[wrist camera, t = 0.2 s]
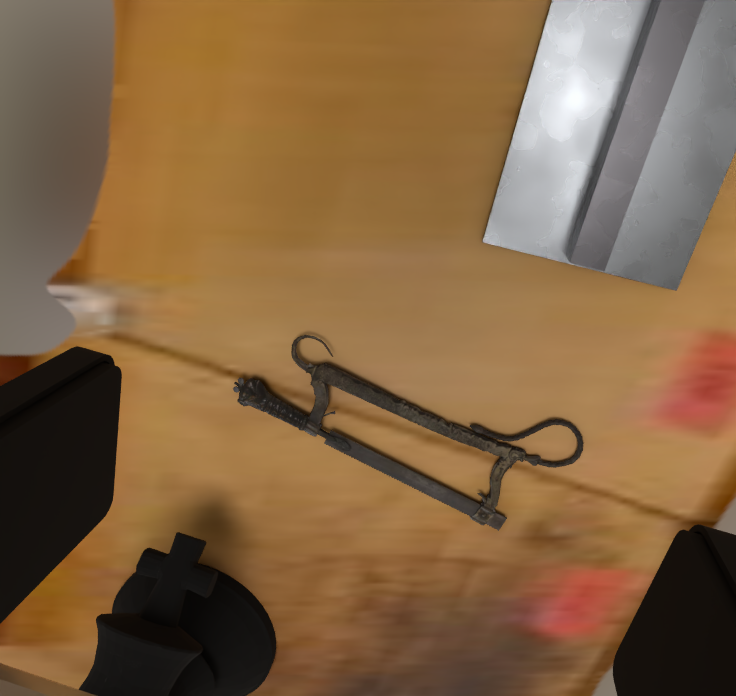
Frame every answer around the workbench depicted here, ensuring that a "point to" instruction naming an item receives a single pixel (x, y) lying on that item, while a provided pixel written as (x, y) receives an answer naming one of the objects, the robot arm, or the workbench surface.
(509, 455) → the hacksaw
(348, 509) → the workbench surface
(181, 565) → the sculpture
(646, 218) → the rail
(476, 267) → the workbench surface
